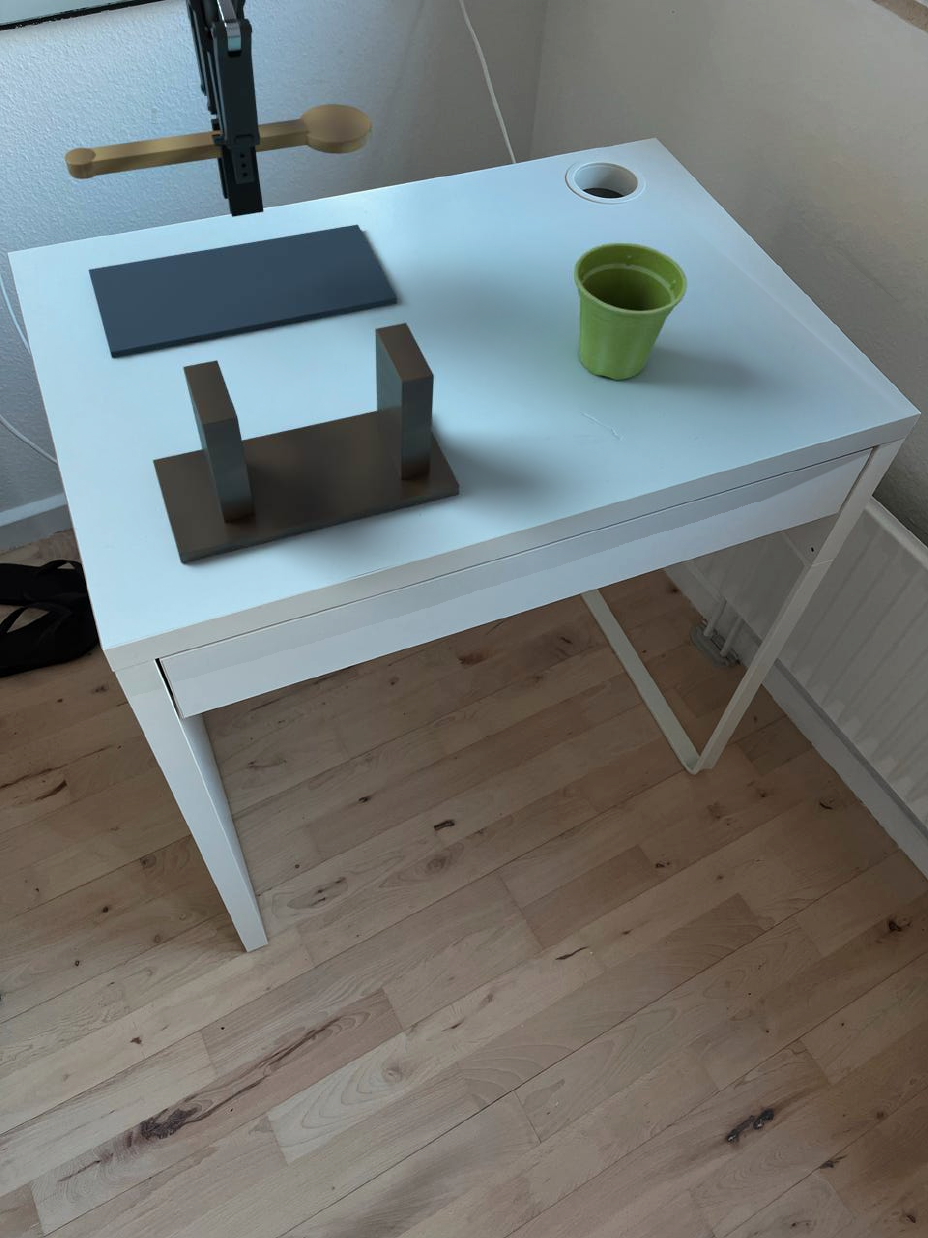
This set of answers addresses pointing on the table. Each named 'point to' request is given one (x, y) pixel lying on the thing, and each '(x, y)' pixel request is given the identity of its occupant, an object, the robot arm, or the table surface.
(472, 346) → the table surface
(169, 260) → the mat
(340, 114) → the ladle
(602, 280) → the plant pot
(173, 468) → the rack
